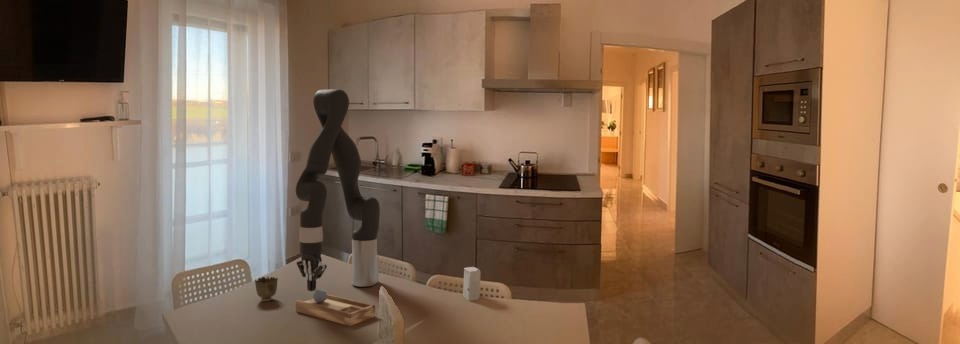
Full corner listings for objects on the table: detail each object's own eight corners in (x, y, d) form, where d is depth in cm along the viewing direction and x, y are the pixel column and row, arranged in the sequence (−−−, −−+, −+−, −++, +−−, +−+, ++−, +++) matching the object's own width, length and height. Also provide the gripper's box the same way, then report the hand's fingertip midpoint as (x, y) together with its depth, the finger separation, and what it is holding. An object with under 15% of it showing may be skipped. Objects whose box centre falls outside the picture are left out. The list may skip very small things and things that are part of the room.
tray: (321, 303, 189) (321, 292, 189) (375, 316, 176) (375, 305, 176) (295, 311, 180) (295, 300, 180) (350, 326, 167) (350, 314, 166)
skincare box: (462, 300, 194) (462, 267, 194) (473, 299, 196) (474, 266, 195) (468, 305, 189) (469, 271, 188) (480, 304, 190) (481, 270, 190)
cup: (269, 305, 186) (269, 282, 186) (250, 303, 187) (250, 280, 187) (282, 299, 193) (281, 277, 193) (263, 297, 195) (263, 275, 194)
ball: (320, 300, 184) (320, 287, 184) (329, 302, 182) (329, 289, 182) (310, 303, 181) (310, 290, 180) (319, 305, 178) (319, 292, 178)
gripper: (333, 240, 182) (333, 291, 183) (307, 236, 189) (307, 285, 190) (315, 243, 176) (315, 296, 177) (289, 239, 183) (289, 289, 184)
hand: (311, 290), depth 183 cm, fingers closed
